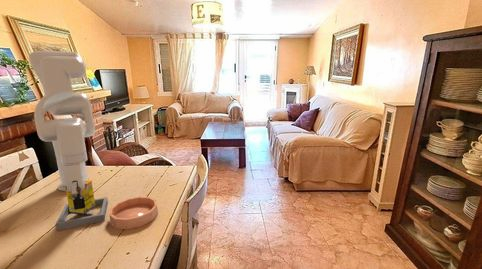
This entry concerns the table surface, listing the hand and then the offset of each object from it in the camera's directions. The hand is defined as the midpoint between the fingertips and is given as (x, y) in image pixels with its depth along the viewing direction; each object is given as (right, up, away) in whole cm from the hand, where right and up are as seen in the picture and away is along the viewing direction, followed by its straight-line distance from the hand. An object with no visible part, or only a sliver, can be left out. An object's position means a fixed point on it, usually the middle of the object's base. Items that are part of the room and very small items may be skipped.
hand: (82, 202), depth 91 cm
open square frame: (+1, -5, +1) cm, 5 cm away
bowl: (+19, -5, 0) cm, 20 cm away
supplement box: (0, -3, +1) cm, 3 cm away
